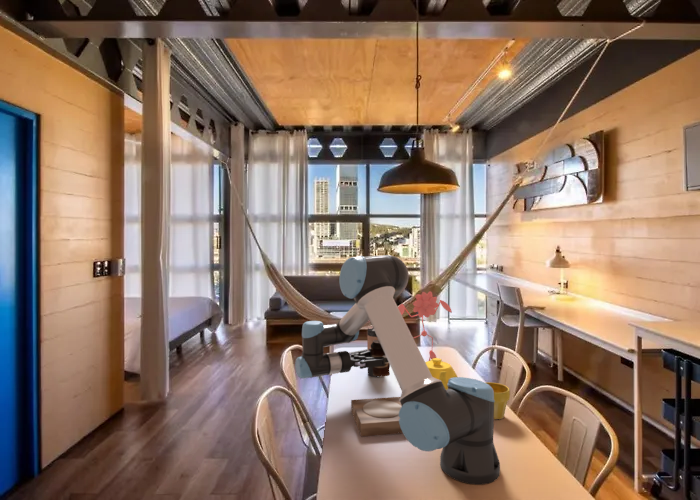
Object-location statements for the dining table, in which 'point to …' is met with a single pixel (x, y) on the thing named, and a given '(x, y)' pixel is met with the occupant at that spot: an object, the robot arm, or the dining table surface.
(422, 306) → the figurine
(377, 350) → the coffee cup
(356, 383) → the dining table surface
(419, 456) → the dining table surface
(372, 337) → the travel mug
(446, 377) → the teapot
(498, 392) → the plant pot
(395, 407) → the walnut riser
